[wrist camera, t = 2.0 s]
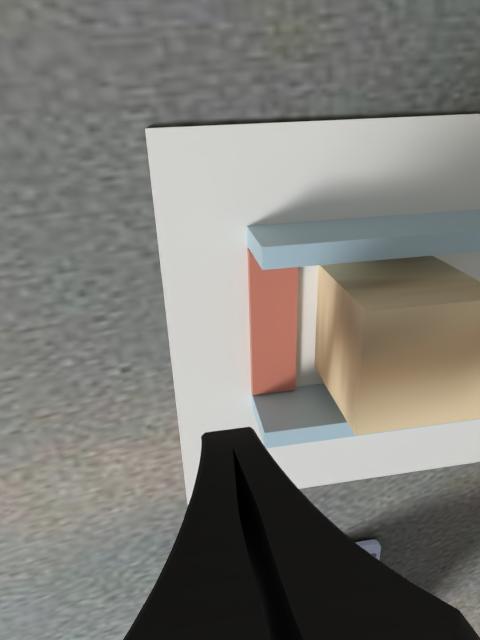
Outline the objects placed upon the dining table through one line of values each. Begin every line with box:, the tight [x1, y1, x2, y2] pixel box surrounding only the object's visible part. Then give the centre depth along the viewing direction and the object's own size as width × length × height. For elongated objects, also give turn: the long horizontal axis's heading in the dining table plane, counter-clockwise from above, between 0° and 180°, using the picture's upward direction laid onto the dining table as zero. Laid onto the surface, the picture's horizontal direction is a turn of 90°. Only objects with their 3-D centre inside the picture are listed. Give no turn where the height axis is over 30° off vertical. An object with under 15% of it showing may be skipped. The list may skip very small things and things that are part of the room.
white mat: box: [145, 114, 480, 505], centre depth 22 cm, size 18×24×1 cm
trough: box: [247, 209, 480, 448], centre depth 19 cm, size 9×13×3 cm, turn 92°
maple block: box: [314, 256, 480, 436], centre depth 18 cm, size 5×5×5 cm
